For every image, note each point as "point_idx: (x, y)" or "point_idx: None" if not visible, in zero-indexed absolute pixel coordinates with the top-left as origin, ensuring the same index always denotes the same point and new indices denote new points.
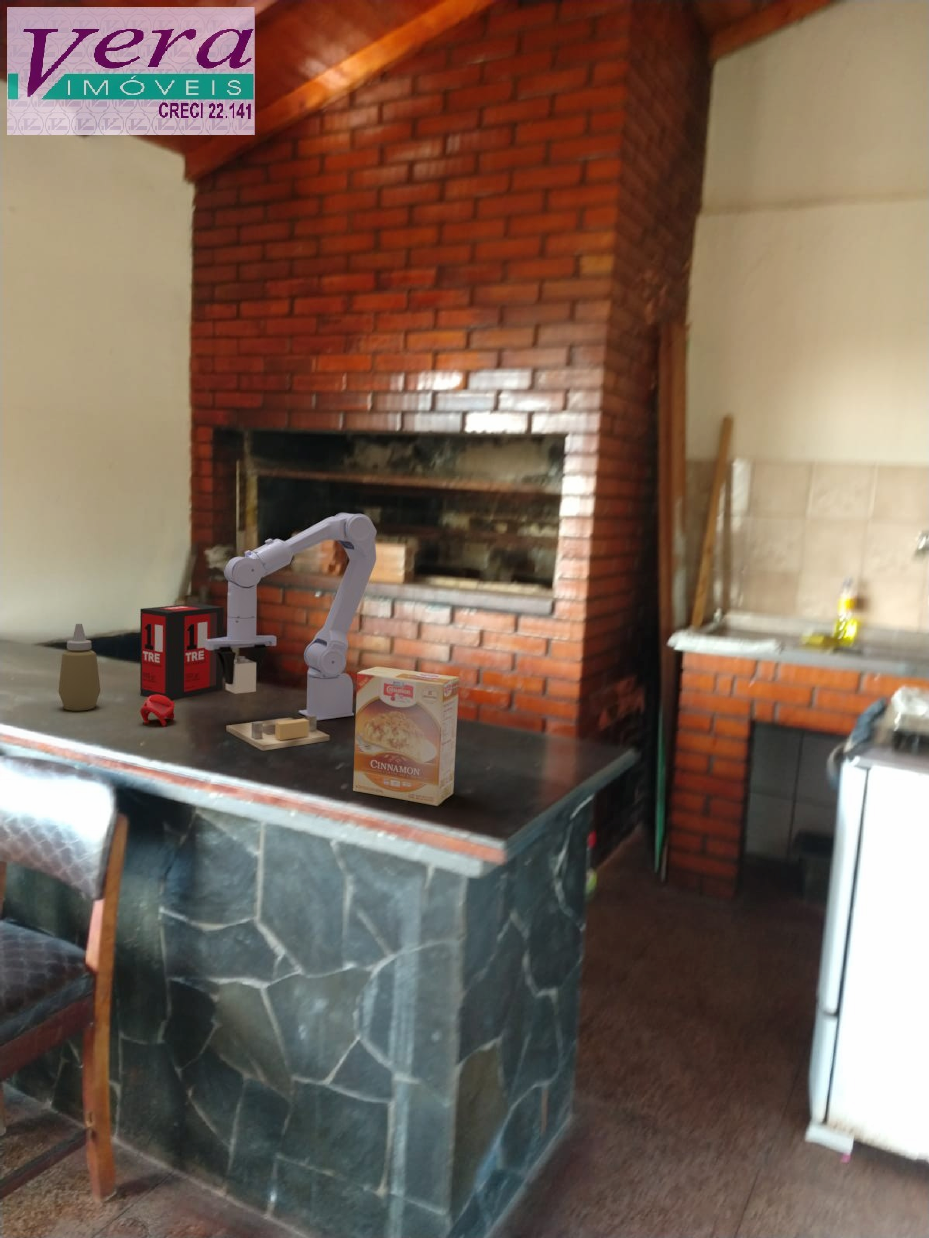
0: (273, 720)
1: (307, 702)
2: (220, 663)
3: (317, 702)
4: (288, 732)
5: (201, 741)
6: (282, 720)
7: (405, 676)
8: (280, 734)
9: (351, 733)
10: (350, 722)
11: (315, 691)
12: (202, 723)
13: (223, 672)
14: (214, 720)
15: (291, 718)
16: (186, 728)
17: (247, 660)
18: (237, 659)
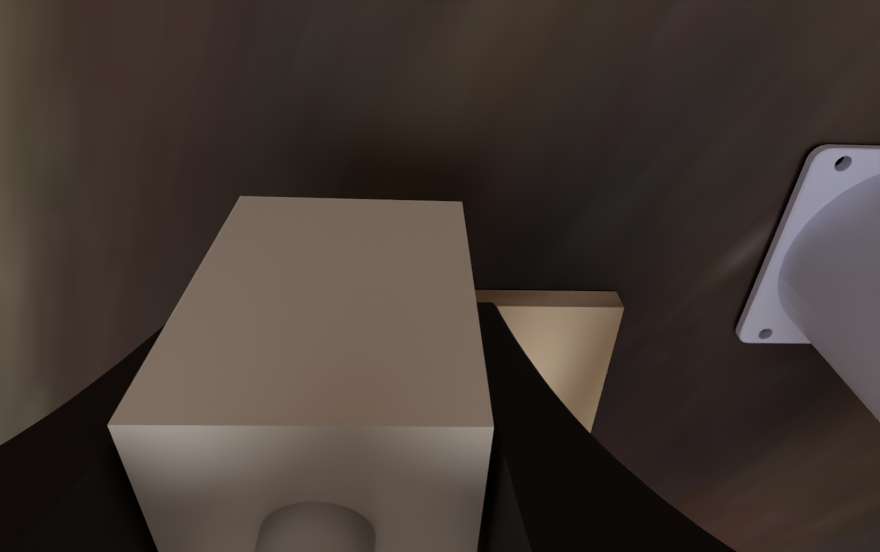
0: (509, 318)
1: (837, 275)
2: (14, 440)
3: (828, 362)
4: None
5: (80, 382)
6: (548, 338)
7: None
8: None
9: (686, 507)
10: (830, 403)
11: (873, 404)
12: (133, 74)
13: (124, 361)
14: (233, 35)
15: (614, 325)
16: (13, 142)
17: (441, 505)
18: None
